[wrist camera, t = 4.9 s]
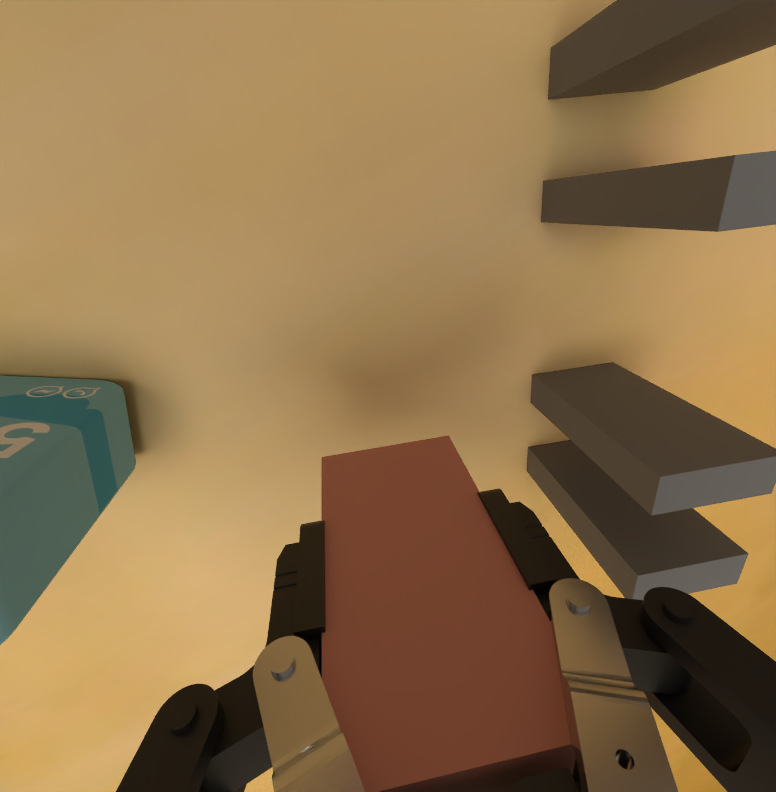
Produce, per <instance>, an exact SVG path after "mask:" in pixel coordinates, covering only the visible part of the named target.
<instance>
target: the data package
mask: <svg viewBox="0 0 776 792" xmlns="http://www.w3.org/2000/svg"><path fill="white" fill-rule="evenodd" d="M135 465H136V460H135V454H134V448H133V442H132V436H131V431H130V425H129V419H128V413H127V407H126V401H125V395H124V390H123V389H122V387H121V386H119V385H118V384H116V383H114V382H110V381H105V380H94V379H70V378H47V377H24V376H1V375H0V645H1V644H2V643H3V642H4V641H5V640H6V639H7V638H8V637H9V636H10V635H11V634H12V633H13V632H14V630H15V629H16V628H17V627H18V625H19V624H20V623H21V621H22V620H23V618H24V617H25V616H26V614H27V613H28V612H29V610H30V609H31V608H32V606H33V605H34V604H35V602H36V601H37V600H38V598H39V597H40V596H41V594H42V593H43V591H44V590H45V589H46V587H47V586H48V585H49V583H50V582H51V581H52V579H53V578H54V577H55V575H56V574H57V573H58V571H59V570H60V569H61V567H62V566H63V565H64V563H65V562H66V560H67V559H68V558H69V556H70V555H71V554H72V552H73V551H74V550H75V548H76V547H77V546H78V544H79V543H80V542H81V540H82V539H83V538H84V536H85V535H86V534H87V532H88V531H89V529H90V528H91V527H92V525H93V524H94V523H95V521H96V520H97V519H98V517H99V516H100V515H101V513H102V512H103V511H104V509H105V508H106V507H107V505H108V504H109V502H110V501H111V500H112V498H113V497H114V496H115V494H116V493H117V492H118V490H119V489H120V488H121V486H122V485H123V484H124V482H125V481H126V480H127V478H128V477H129V476H130V474H131V473H132V471H133V470H134V468H135Z"/></svg>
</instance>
